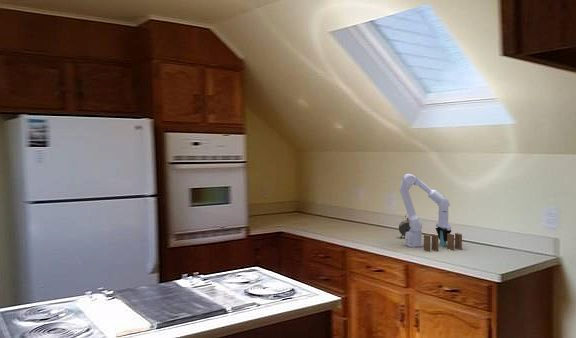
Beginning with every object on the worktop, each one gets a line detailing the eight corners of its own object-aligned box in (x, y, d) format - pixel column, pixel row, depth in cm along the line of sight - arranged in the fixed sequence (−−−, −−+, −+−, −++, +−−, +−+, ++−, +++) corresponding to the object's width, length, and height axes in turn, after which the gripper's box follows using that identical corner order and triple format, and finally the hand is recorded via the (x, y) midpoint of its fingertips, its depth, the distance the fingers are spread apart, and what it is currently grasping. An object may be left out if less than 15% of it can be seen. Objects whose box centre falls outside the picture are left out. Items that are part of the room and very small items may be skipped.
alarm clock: (414, 237, 335) (414, 213, 334) (416, 238, 329) (417, 214, 328) (398, 237, 335) (398, 213, 334) (400, 239, 329) (400, 214, 328)
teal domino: (444, 246, 303) (444, 231, 303) (439, 245, 308) (440, 230, 308) (446, 246, 304) (446, 231, 303) (442, 245, 309) (442, 230, 308)
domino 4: (459, 249, 294) (459, 234, 294) (454, 248, 299) (455, 233, 298) (461, 249, 294) (462, 234, 294) (457, 248, 299) (457, 233, 299)
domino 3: (451, 250, 293) (451, 235, 293) (447, 248, 298) (447, 233, 297) (454, 250, 293) (454, 234, 293) (449, 248, 298) (449, 233, 298)
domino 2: (435, 251, 291) (435, 235, 291) (431, 249, 296) (431, 234, 295) (438, 251, 291) (438, 235, 291) (434, 249, 296) (434, 234, 296)
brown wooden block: (427, 251, 290) (427, 236, 290) (423, 249, 295) (423, 234, 294) (430, 251, 290) (430, 236, 290) (426, 249, 295) (426, 234, 295)
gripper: (455, 219, 299) (455, 242, 300) (443, 216, 313) (443, 237, 314) (444, 220, 298) (444, 242, 298) (432, 216, 312) (432, 238, 312)
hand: (443, 240), depth 306 cm, fingers open, 5 cm apart
